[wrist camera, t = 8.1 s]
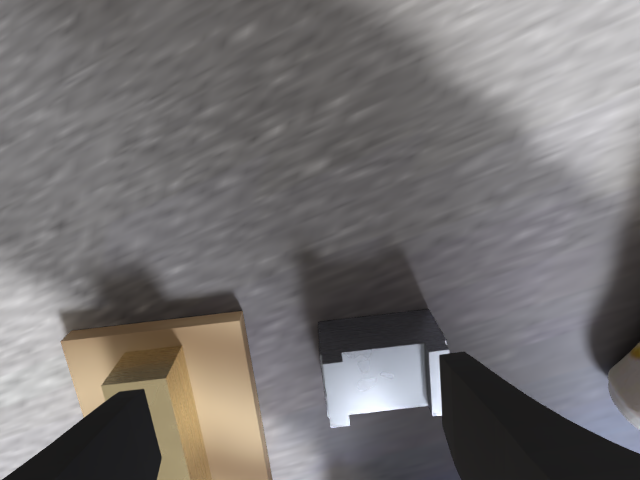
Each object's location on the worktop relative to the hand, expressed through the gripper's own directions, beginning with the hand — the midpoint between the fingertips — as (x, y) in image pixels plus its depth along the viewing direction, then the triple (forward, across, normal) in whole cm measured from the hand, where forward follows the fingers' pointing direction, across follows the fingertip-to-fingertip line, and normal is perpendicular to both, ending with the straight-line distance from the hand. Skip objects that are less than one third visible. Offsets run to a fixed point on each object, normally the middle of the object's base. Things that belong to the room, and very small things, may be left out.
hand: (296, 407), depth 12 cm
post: (+10, -3, +4) cm, 12 cm away
